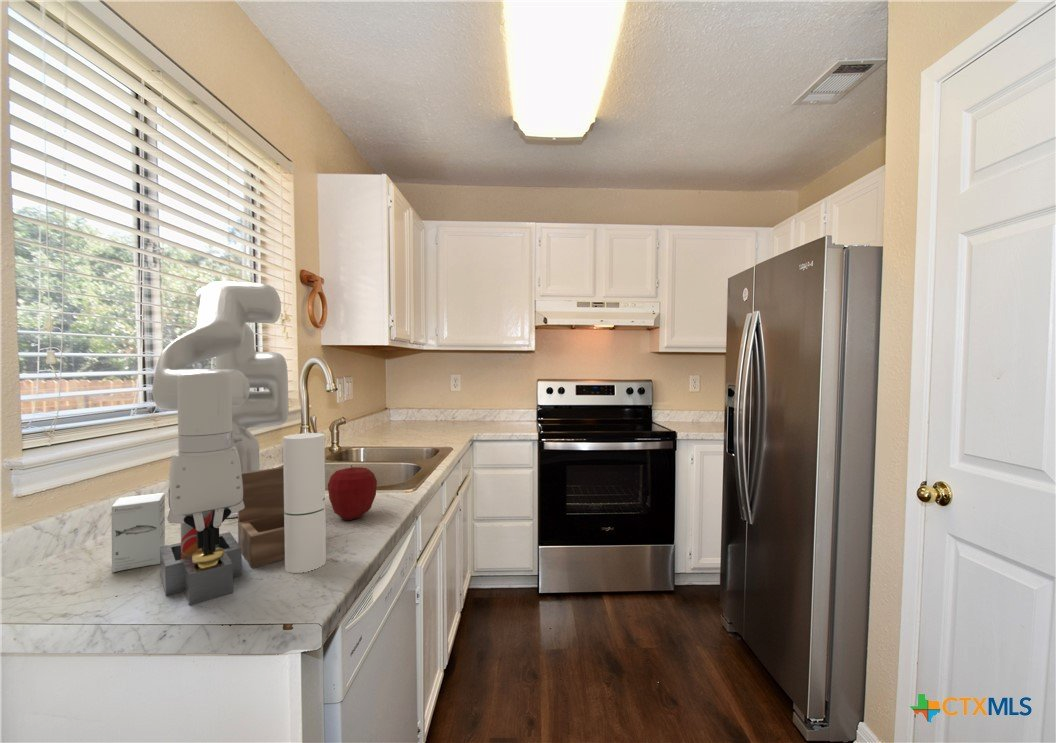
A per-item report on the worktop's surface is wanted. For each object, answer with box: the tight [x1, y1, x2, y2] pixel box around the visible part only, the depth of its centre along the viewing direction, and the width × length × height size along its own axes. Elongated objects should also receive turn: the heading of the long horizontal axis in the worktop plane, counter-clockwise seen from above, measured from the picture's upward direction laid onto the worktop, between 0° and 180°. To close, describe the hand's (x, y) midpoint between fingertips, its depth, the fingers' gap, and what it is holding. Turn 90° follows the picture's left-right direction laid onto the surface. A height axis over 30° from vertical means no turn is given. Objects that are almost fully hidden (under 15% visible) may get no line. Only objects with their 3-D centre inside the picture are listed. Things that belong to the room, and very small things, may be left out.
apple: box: [327, 464, 378, 521], centre depth 115 cm, size 12×12×13 cm
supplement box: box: [111, 492, 166, 574], centre depth 90 cm, size 7×7×13 cm
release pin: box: [192, 547, 224, 569], centre depth 77 cm, size 4×4×6 cm
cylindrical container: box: [282, 432, 327, 574], centre depth 88 cm, size 7×7×25 cm
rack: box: [237, 466, 285, 569], centre depth 95 cm, size 12×11×16 cm
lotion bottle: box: [180, 511, 219, 559], centre depth 84 cm, size 6×6×20 cm
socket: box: [159, 531, 243, 606], centre depth 82 cm, size 18×11×5 cm, turn 43°
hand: (208, 550), depth 77 cm, fingers closed
